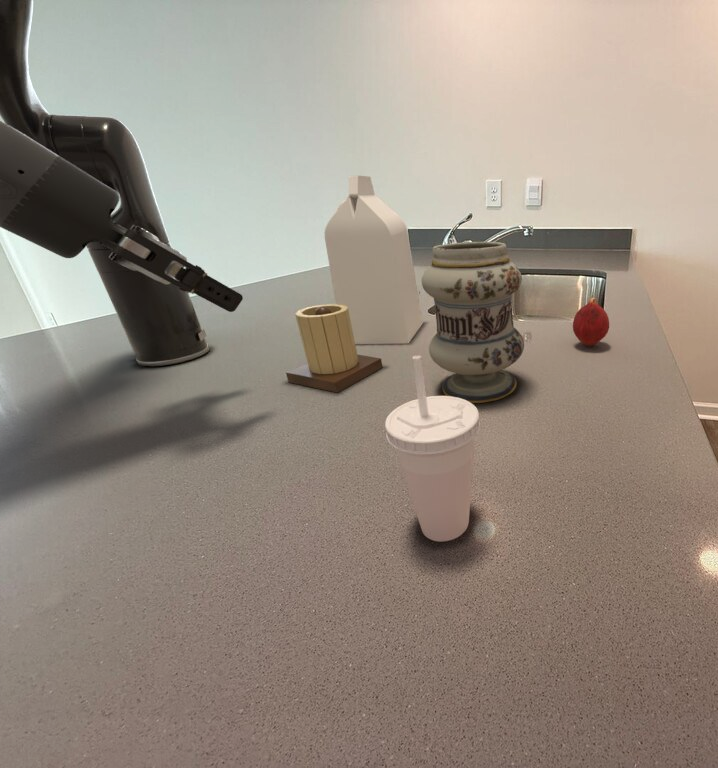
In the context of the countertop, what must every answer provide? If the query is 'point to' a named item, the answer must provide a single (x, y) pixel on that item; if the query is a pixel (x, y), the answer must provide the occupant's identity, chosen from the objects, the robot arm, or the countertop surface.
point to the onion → (591, 323)
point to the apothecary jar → (474, 318)
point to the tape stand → (335, 380)
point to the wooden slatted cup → (327, 339)
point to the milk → (373, 267)
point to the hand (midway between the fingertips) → (226, 298)
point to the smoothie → (436, 457)
